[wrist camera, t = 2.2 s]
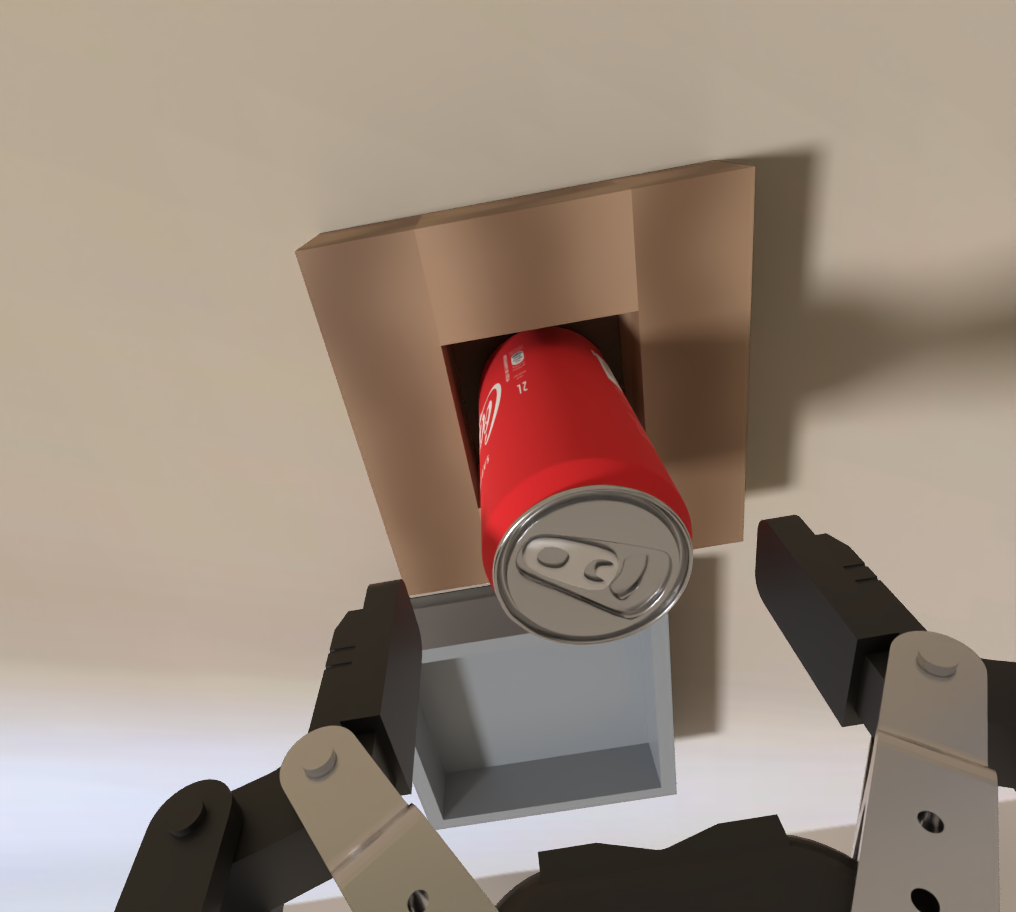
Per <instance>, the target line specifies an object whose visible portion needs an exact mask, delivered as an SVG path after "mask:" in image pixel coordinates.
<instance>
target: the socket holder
mask: <svg viewBox="0 0 1016 912" xmlns="http://www.w3.org/2000/svg"><path fill="white" fill-rule="evenodd" d="M754 195H755V166H749V165H743V164H736V163H729V162H722V161H715V160H713V161H707V162H702V163H697V164H691V165H686V166H681V167H675V168H670V169H664V170H659V171H654V172H648V173H643V174H637V175H632V176H627V177H621V178H616V179H611V180H605V181H600V182H594V183H589V184H584V185H578V186H573V187H567V188H562V189H557V190H551V191H546V192H540V193H535V194H530V195H524V196H519V197H514V198H508V199H503V200H497V201H492V202H487V203H481V204H476V205H470V206H465V207H460V208H454V209H449V210H444V211H438V212H433V213H427V214H422V215H417V216H411V217H406V218H400V219H395V220H390V221H384V222H379V223H374V224H368V225H363V226H357V227H352V228H347V229H341V230H336V231H330V232H325V233H320V234H319V235H317V236H316V237H315V238H313V239H312V240H310V241H309V242H308V243H306V244H305V245H303V246H302V247H300V248H299V249H298V250H296V251H295V254H296V257H297V260H298V263H299V266H300V269H301V272H302V275H303V278H304V281H305V284H306V287H307V290H308V294H309V297H310V300H311V303H312V306H313V309H314V312H315V315H316V318H317V321H318V324H319V327H320V330H321V333H322V336H323V339H324V342H325V345H326V348H327V352H328V355H329V358H330V361H331V364H332V367H333V370H334V373H335V376H336V379H337V382H338V385H339V388H340V391H341V394H342V397H343V400H344V403H345V406H346V409H347V413H348V416H349V419H350V422H351V425H352V428H353V431H354V434H355V437H356V440H357V443H358V446H359V449H360V452H361V455H362V458H363V461H364V464H365V467H366V471H367V474H368V477H369V480H370V483H371V486H372V489H373V492H374V495H375V498H376V501H377V504H378V507H379V510H380V513H381V516H382V519H383V522H384V525H385V529H386V532H387V535H388V538H389V541H390V544H391V547H392V550H393V553H394V556H395V559H396V562H397V565H398V568H399V571H400V574H401V577H402V580H403V581H404V583H405V585H406V588H407V591H408V594H409V595H416V594H422V593H428V592H434V591H440V590H446V589H452V588H458V587H465V586H471V585H477V584H483V583H489V581H488V578H487V576H486V573H485V570H484V566H483V561H482V547H481V495H480V463H479V464H478V463H477V459H476V454H475V450H474V445H473V441H472V436H471V432H470V427H469V422H468V418H467V413H466V409H465V404H464V400H463V395H462V391H461V386H460V382H459V377H458V373H457V368H456V364H455V359H454V354H453V350H452V345H451V344H454V343H460V342H465V341H471V340H477V339H482V338H488V337H493V336H499V335H505V334H510V333H516V332H522V331H527V330H533V329H539V328H544V327H550V326H555V325H561V324H567V323H572V322H578V321H584V320H589V319H595V318H600V317H606V316H612V315H617V314H618V316H619V329H620V342H621V355H622V368H623V381H624V394H625V397H626V399H627V400H628V402H629V404H630V406H631V407H632V409H633V411H634V413H635V415H636V416H637V418H638V420H639V422H640V424H641V425H642V427H643V429H644V431H645V433H646V434H647V436H648V438H649V440H650V441H651V443H652V445H653V447H654V449H655V450H656V452H657V454H658V456H659V458H660V459H661V461H662V463H663V465H664V467H665V468H666V470H667V472H668V474H669V475H670V477H671V479H672V481H673V483H674V484H675V486H676V488H677V490H678V492H679V493H680V495H681V497H682V499H683V501H684V503H685V505H686V507H687V509H688V512H689V515H690V519H691V524H692V547H693V549H698V548H704V547H710V546H716V545H722V544H728V543H734V542H741V541H743V531H744V501H745V470H746V440H747V409H748V379H749V348H750V318H751V287H752V256H753V226H754Z"/></svg>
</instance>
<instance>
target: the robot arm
mask: <svg viewBox="0 0 1016 912" xmlns="http://www.w3.org/2000/svg"><path fill="white" fill-rule="evenodd" d="M755 578H756V584H757V588H758V591H759V594H760V597H761V599H762V601H763V603H764V604H765V606H766V607H767V609H768V611H769V612H770V614H771V615H772V617H773V619H774V620H775V622H776V623H777V625H778V626H779V628H780V630H781V631H782V633H783V634H784V636H785V638H786V639H787V641H788V642H789V644H790V645H791V647H792V649H793V650H794V652H795V653H796V655H797V657H798V658H799V660H800V661H801V663H802V664H803V666H804V668H805V669H806V671H807V672H808V674H809V675H810V677H811V679H812V680H813V682H814V683H815V685H816V687H817V688H818V690H819V691H820V693H821V694H822V696H823V698H824V699H825V701H826V702H827V704H828V706H829V707H830V709H831V710H832V712H833V713H834V715H835V717H836V718H837V720H838V721H839V723H840V725H841V726H842V727H846V726H852V725H858V724H864V725H865V727H866V728H867V730H868V731H869V733H870V734H871V740H870V744H869V750H868V756H867V762H866V769H865V775H864V781H863V787H862V793H861V799H860V805H859V812H858V818H857V824H856V830H855V835H854V841H853V846H852V851H851V856H850V857H849V856H847V855H846V854H844V853H842V852H840V851H837V850H836V849H833V848H831V847H829V846H827V845H824V844H821V843H819V842H816V841H813V840H810V839H806V838H802V837H798V836H793V835H786V833H785V831H784V829H783V826H782V824H781V822H780V820H779V818H778V815H771V816H764V817H758V818H752V819H745V820H739V821H732V822H726V823H720V824H717V825H714V826H712V827H710V828H708V829H706V830H704V831H702V832H700V833H698V834H696V835H694V836H691V837H689V838H687V839H685V840H683V841H681V842H679V843H677V844H675V845H673V846H671V847H669V848H666V849H662V850H652V849H643V848H635V847H627V846H618V845H610V844H602V843H592V844H586V845H580V846H573V847H567V848H561V849H554V850H548V851H542V852H538V857H539V867H540V872H538V873H536V874H534V875H532V876H531V877H529V878H527V879H525V880H524V881H522V882H521V883H519V884H518V885H516V886H515V887H514V888H513V889H512V890H511V891H509V892H508V893H507V894H506V895H505V896H504V897H503V898H502V899H501V900H500V901H499V902H498V903H497V905H496V906H494V905H493V904H492V902H491V901H490V900H489V898H488V897H487V896H486V894H485V893H484V892H483V890H482V889H481V888H480V887H479V885H478V884H477V883H476V882H475V880H474V879H473V878H472V876H471V875H470V874H469V873H468V871H467V870H466V869H465V867H464V866H463V865H462V864H461V862H460V861H459V860H458V858H457V857H456V856H455V855H454V853H453V852H452V851H451V849H450V848H449V847H448V846H447V844H446V843H445V842H444V840H443V839H442V838H441V837H440V835H439V834H438V833H437V831H436V830H435V829H434V828H433V826H432V825H431V824H430V822H429V821H428V820H427V819H426V817H425V816H424V815H423V814H422V812H421V811H420V810H419V809H418V808H417V807H416V806H415V805H414V804H412V803H411V804H410V805H408V804H407V803H406V802H405V801H404V799H403V798H402V797H401V795H408V794H411V791H412V779H413V766H414V753H415V741H416V728H417V715H418V703H419V690H420V677H421V665H422V642H421V635H420V630H419V626H418V623H417V620H416V617H415V613H414V610H413V607H412V604H411V601H410V598H409V594H408V591H407V588H406V585H405V583H404V581H403V580H402V579H400V580H394V581H388V582H382V583H376V584H370V585H369V586H368V588H367V593H366V597H365V602H364V607H363V609H360V610H354V611H348V613H347V614H346V615H345V617H344V618H343V619H342V621H341V622H340V624H339V625H338V626H337V628H336V629H335V631H334V635H333V639H332V643H331V647H330V654H328V658H327V662H326V670H324V674H323V678H322V681H321V685H320V689H319V693H318V697H317V701H316V705H315V709H314V713H313V716H312V720H311V724H310V728H309V731H308V734H306V735H305V736H303V737H302V738H301V739H300V740H298V741H297V742H296V743H295V744H294V745H293V746H292V748H291V749H290V750H289V751H288V753H287V755H286V756H285V758H284V760H283V762H282V765H281V767H280V768H278V769H277V770H275V771H273V772H271V773H270V774H268V775H266V776H263V777H261V778H259V779H257V780H255V781H253V782H250V783H248V784H246V785H244V786H242V787H240V788H237V789H235V790H233V791H230V789H229V788H228V787H227V786H226V785H225V784H224V783H223V782H221V781H218V780H210V779H208V780H202V781H198V782H195V783H193V784H190V785H188V786H186V787H184V788H183V789H181V790H179V791H178V792H177V793H175V794H174V795H173V796H172V797H170V798H169V799H168V800H167V801H166V802H165V803H164V804H163V805H162V806H161V807H160V809H159V810H158V811H157V812H156V814H155V815H154V817H153V818H152V820H151V822H150V824H149V826H148V828H147V830H146V833H145V835H144V838H143V840H142V843H141V846H140V848H139V851H138V853H137V856H136V858H135V861H134V863H133V866H132V868H131V871H130V873H129V876H128V878H127V881H126V883H125V886H124V888H123V891H122V893H121V896H120V898H119V901H118V903H117V906H116V908H115V911H114V912H283V906H284V903H286V902H288V901H290V900H292V899H294V898H296V897H297V896H299V895H301V894H303V893H305V892H307V891H309V890H311V889H313V888H315V887H316V886H318V885H320V884H322V883H324V882H326V881H328V880H330V879H332V878H334V880H335V882H336V884H337V885H338V887H339V889H340V891H341V892H342V894H343V896H344V897H345V899H346V901H347V903H348V905H349V906H350V908H351V910H352V911H353V912H1000V889H999V887H1000V885H999V826H998V786H1002V787H1008V788H1014V790H1015V791H1016V662H1007V661H996V660H988V659H982V658H980V657H979V656H978V655H977V654H976V653H975V652H974V651H973V650H971V649H970V648H969V647H967V646H966V645H964V644H963V643H961V642H959V641H957V640H956V639H953V638H951V637H949V636H946V635H943V634H939V633H935V632H929V631H927V630H926V629H925V628H924V627H923V626H922V625H921V624H920V623H919V622H918V620H917V619H916V618H915V617H914V616H913V615H912V614H911V613H910V612H909V611H908V610H907V609H906V607H905V606H904V605H903V604H902V603H901V602H900V601H899V600H898V599H897V598H896V597H895V596H894V594H893V593H892V592H891V591H890V590H889V589H888V588H887V587H886V586H885V585H884V584H883V583H882V581H881V580H879V581H878V579H877V576H876V575H875V574H874V573H873V572H872V571H871V570H870V568H869V567H868V566H867V567H866V566H865V563H864V562H863V561H862V560H861V559H860V558H859V557H858V555H857V554H856V553H855V552H854V551H853V550H852V549H851V548H850V547H849V546H848V545H846V544H844V543H842V542H841V541H839V540H837V539H835V538H833V537H832V536H830V535H828V534H826V533H825V534H819V535H815V534H814V533H813V532H812V531H811V529H810V528H809V527H808V526H807V525H806V524H805V522H804V521H803V520H802V519H801V518H800V517H799V516H797V515H790V516H784V517H778V518H772V519H766V520H762V521H760V522H759V525H758V533H757V551H756V569H755Z"/></svg>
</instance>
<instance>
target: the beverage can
mask: <svg viewBox="0 0 1016 912" xmlns="http://www.w3.org/2000/svg"><path fill="white" fill-rule="evenodd" d="M479 443H480V495H481V547H482V561H483V566H484V570H485V573H486V576H487V578H488V581H489V582H490V584H491V586H492V588H493V590H494V592H495V593H496V596H497V598H498V600H499V602H500V604H501V606H502V608H503V610H504V611H505V613H506V614H507V616H508V617H509V618H510V619H511V620H512V621H514V622H515V623H516V624H517V625H519V626H520V627H522V628H523V629H525V630H526V631H528V632H530V633H531V634H533V635H535V636H538V637H540V638H543V639H546V640H549V641H552V642H556V643H561V644H568V645H596V644H604V643H609V642H613V641H617V640H620V639H623V638H626V637H629V636H632V635H634V634H636V633H638V632H640V631H642V630H644V629H646V628H647V627H649V626H651V625H652V624H654V623H655V622H657V621H658V620H659V619H661V618H662V617H663V616H664V615H665V614H666V613H667V612H668V611H669V610H670V609H671V608H672V607H673V606H674V605H675V604H676V603H677V601H678V600H679V598H680V597H681V595H682V594H683V592H684V590H685V588H686V586H687V584H688V582H689V579H690V576H691V572H692V567H693V547H692V524H691V519H690V515H689V512H688V509H687V507H686V505H685V503H684V501H683V499H682V497H681V495H680V493H679V492H678V490H677V488H676V486H675V484H674V483H673V481H672V479H671V477H670V475H669V474H668V472H667V470H666V468H665V467H664V465H663V463H662V461H661V459H660V458H659V456H658V454H657V452H656V450H655V449H654V447H653V445H652V443H651V441H650V440H649V438H648V436H647V434H646V433H645V431H644V429H643V427H642V425H641V424H640V422H639V420H638V418H637V416H636V415H635V413H634V411H633V409H632V407H631V406H630V404H629V402H628V400H627V399H626V397H625V395H624V393H623V391H622V390H621V388H620V386H619V384H618V382H617V381H616V379H615V377H614V375H613V373H612V372H611V370H610V368H609V366H608V365H607V363H606V361H605V359H604V357H603V356H602V354H601V353H600V351H599V350H598V349H597V348H596V347H595V346H594V345H593V344H592V343H591V342H590V341H589V340H588V339H586V338H585V337H583V336H582V335H580V334H578V333H576V332H573V331H571V330H567V329H564V328H558V327H544V328H539V329H533V330H527V331H522V332H520V333H518V334H515V335H513V336H512V337H510V338H509V339H507V340H506V341H504V342H503V343H502V344H501V345H500V346H499V347H497V348H496V350H495V351H494V352H493V353H492V354H491V356H490V357H489V359H488V360H487V362H486V364H485V366H484V368H483V370H482V373H481V377H480V381H479Z"/></svg>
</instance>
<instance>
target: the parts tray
mask: <svg viewBox="0 0 1016 912" xmlns="http://www.w3.org/2000/svg"><path fill="white" fill-rule="evenodd" d="M410 601H411V604H412V607H413V610H414V613H415V617H416V620H417V623H418V626H419V630H420V635H421V642H422V665H421V677H420V690H419V703H418V715H417V728H416V741H415V753H414V766H413V779H412V781H413V784H414V786H415V789H416V791H417V794H418V796H419V799H420V801H421V804H422V806H423V809H424V811H425V814H426V816H427V819H428V821H429V822H430V824H431V825H432V826H433V828H434V829H435V830H439V829H446V828H452V827H459V826H466V825H472V824H479V823H486V822H493V821H499V820H506V819H513V818H519V817H526V816H533V815H540V814H546V813H553V812H560V811H567V810H573V809H580V808H587V807H593V806H600V805H607V804H614V803H620V802H627V801H634V800H640V799H647V798H654V797H661V796H667V795H674V794H677V791H676V770H675V749H674V728H673V707H672V686H671V664H670V643H669V622H668V612H667V613H666V614H665V615H664V616H663V617H662V618H661V619H659V620H658V621H657V622H655V623H654V624H652V625H651V626H649V627H647V628H646V629H644V630H642V631H640V632H638V633H636V634H634V635H632V636H629V637H626V638H623V639H620V640H617V641H613V642H609V643H604V644H596V645H568V644H561V643H556V642H552V641H549V640H546V639H543V638H540V637H538V636H535V635H533V634H531V633H530V632H528V631H526V630H525V629H523V628H522V627H520V626H519V625H517V624H516V623H515V622H514V621H512V620H511V619H510V618H509V617H508V616H507V614H506V613H505V611H504V610H503V608H502V606H501V604H500V602H499V600H498V598H497V596H496V593H495V592H494V590H493V588H492V586H486V587H480V588H474V589H467V590H461V591H455V592H449V593H443V594H437V595H431V596H424V597H418V598H412V599H410Z"/></svg>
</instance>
